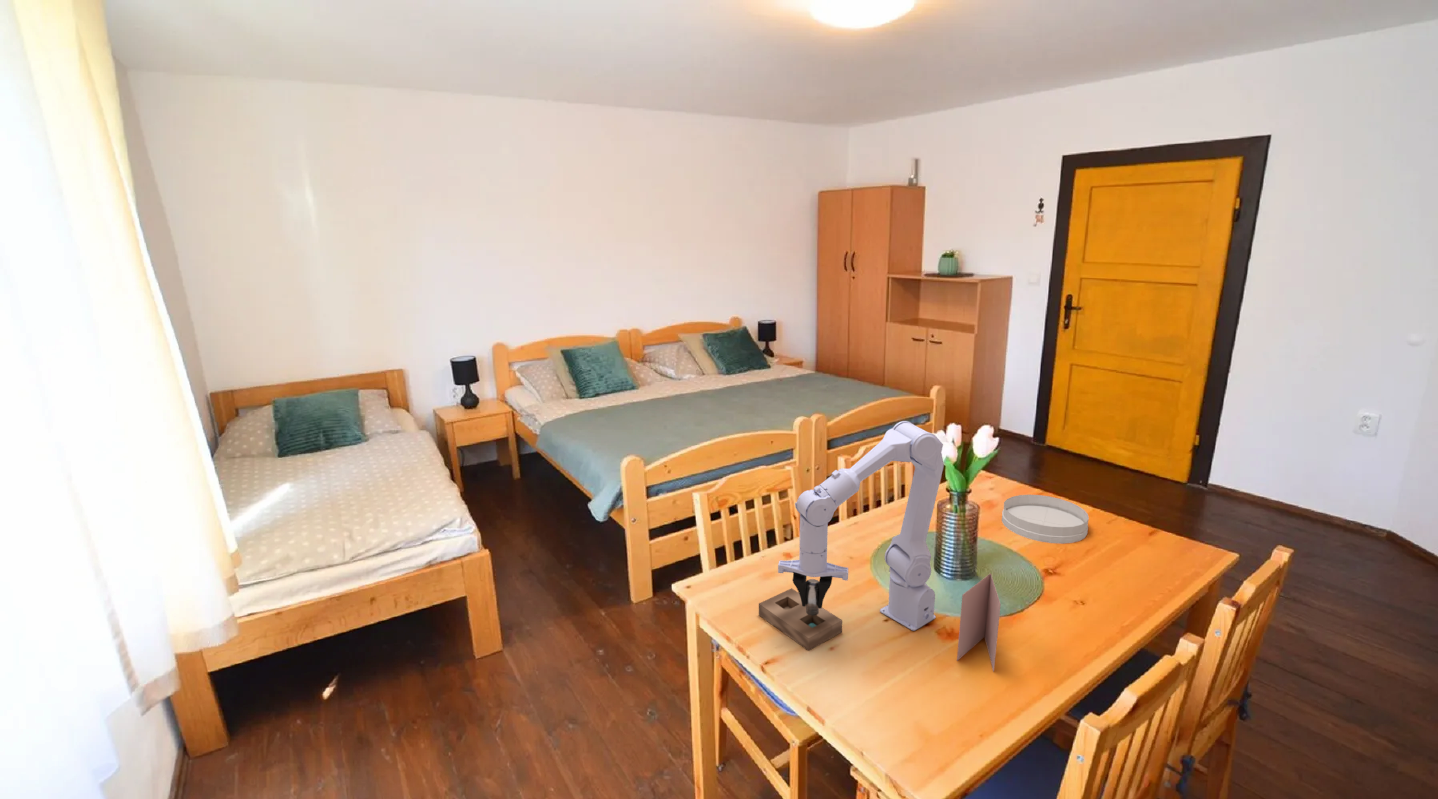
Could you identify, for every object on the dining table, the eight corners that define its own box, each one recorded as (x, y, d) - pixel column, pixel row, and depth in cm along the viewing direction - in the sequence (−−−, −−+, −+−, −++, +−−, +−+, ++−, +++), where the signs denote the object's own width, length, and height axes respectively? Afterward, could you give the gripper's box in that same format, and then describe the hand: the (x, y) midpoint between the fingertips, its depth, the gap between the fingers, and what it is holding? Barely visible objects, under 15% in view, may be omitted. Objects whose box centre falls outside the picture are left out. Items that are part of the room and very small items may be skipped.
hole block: (841, 632, 138) (842, 620, 138) (808, 650, 133) (808, 638, 132) (791, 599, 151) (791, 588, 150) (758, 615, 145) (758, 603, 144)
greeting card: (980, 634, 136) (986, 571, 132) (1015, 650, 131) (1022, 585, 127) (952, 658, 129) (958, 592, 125) (988, 677, 124) (995, 608, 120)
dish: (1089, 519, 187) (1092, 503, 186) (1084, 551, 169) (1086, 534, 168) (1007, 504, 199) (1009, 489, 198) (994, 532, 181) (996, 516, 180)
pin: (820, 609, 138) (820, 580, 136) (817, 616, 136) (818, 586, 134) (807, 607, 139) (807, 578, 137) (804, 614, 137) (804, 584, 135)
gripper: (850, 541, 135) (848, 598, 139) (781, 535, 139) (781, 590, 142) (847, 558, 129) (846, 617, 132) (776, 550, 132) (776, 608, 136)
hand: (812, 604), depth 137 cm, fingers closed on pin, 3 cm apart
